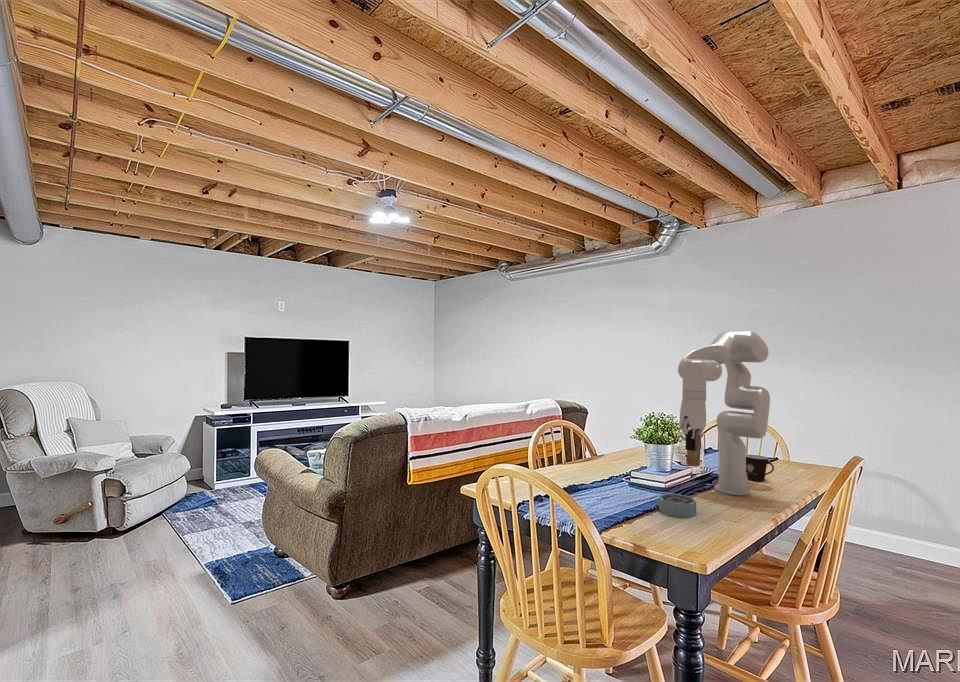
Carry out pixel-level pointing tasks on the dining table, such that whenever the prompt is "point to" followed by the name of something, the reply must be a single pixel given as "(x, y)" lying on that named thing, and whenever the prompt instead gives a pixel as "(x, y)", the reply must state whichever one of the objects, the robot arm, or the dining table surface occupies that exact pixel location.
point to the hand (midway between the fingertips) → (693, 449)
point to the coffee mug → (757, 467)
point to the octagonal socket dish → (677, 505)
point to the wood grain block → (694, 452)
